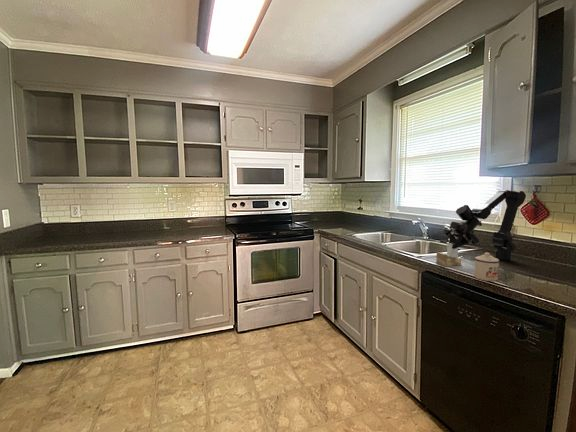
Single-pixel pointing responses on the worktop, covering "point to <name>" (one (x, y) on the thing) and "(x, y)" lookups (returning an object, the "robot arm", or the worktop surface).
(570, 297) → the worktop surface
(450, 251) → the white rectangular block
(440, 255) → the sleeve
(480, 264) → the teacup with lid
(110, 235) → the worktop surface
